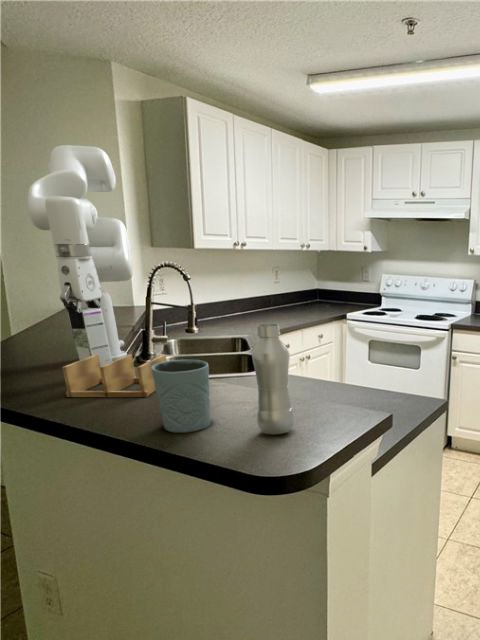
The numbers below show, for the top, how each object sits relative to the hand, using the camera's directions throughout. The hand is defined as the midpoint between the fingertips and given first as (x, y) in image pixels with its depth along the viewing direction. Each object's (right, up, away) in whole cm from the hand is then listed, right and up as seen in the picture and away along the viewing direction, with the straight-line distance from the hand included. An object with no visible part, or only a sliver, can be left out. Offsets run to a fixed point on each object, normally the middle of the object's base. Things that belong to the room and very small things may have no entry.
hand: (87, 325), depth 138 cm
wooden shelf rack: (+12, -17, -6) cm, 22 cm away
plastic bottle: (+56, -28, -35) cm, 72 cm away
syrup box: (0, -10, +4) cm, 10 cm away
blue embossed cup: (+38, -26, -32) cm, 56 cm away
